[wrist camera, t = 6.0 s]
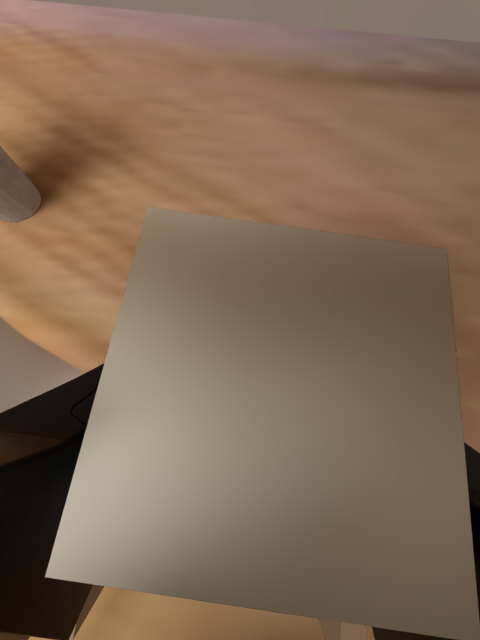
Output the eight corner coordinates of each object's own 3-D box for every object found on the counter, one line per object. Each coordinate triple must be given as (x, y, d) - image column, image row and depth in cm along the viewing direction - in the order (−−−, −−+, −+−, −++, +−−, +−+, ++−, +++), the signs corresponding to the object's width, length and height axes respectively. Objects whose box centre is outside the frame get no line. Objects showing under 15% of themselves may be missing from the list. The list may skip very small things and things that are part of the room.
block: (283, 422, 12) (482, 643, 2) (196, 410, 12) (45, 576, 2) (290, 336, 13) (447, 248, 4) (211, 325, 13) (148, 206, 4)
